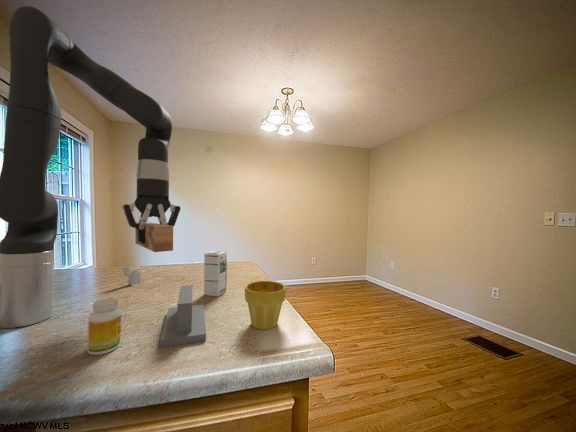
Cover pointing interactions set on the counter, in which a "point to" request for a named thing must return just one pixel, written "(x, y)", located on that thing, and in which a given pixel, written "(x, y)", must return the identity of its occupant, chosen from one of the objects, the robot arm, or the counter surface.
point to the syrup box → (215, 273)
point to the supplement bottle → (104, 327)
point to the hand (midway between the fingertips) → (152, 242)
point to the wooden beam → (157, 237)
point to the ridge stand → (184, 321)
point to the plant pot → (264, 302)
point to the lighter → (131, 275)
